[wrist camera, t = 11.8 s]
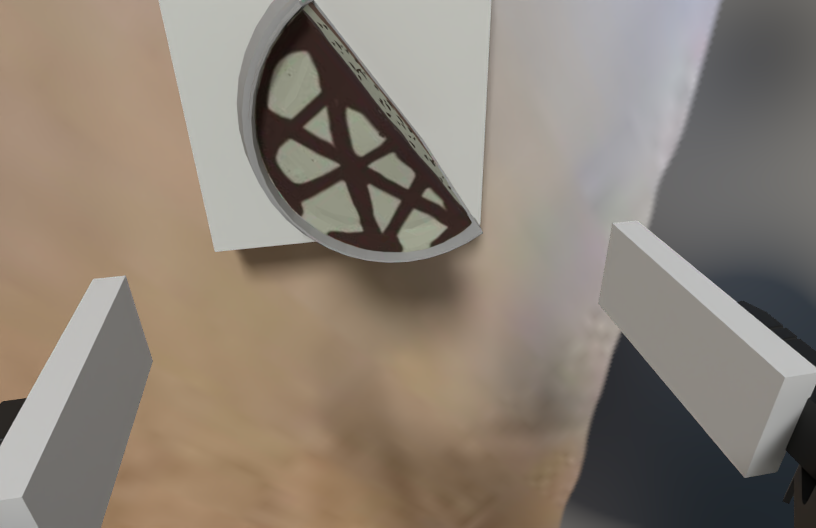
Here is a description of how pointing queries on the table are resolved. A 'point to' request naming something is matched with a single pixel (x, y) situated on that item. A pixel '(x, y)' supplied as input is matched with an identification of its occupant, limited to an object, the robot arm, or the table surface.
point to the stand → (382, 55)
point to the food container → (340, 145)
